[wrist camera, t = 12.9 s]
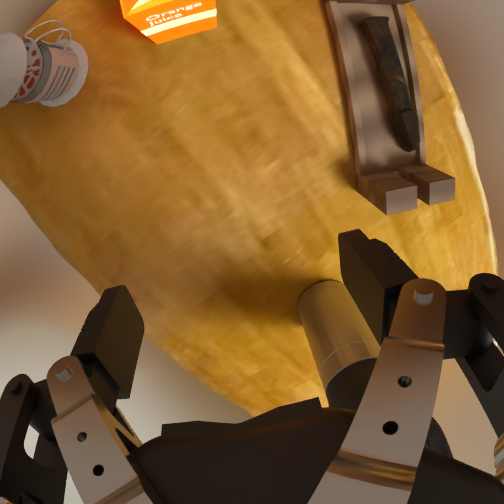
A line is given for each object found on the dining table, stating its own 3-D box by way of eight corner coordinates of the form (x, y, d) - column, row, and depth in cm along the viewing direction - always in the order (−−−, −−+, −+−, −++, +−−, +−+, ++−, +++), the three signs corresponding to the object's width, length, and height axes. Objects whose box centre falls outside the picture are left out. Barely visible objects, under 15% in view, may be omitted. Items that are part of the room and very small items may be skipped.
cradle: (419, 179, 42) (454, 199, 34) (357, 192, 42) (386, 215, 34) (390, -11, 28) (424, -26, 20) (319, -14, 28) (344, -37, 20)
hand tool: (352, 21, 30) (367, 14, 26) (378, 19, 29) (395, 13, 25) (384, 152, 39) (401, 160, 35) (407, 147, 38) (425, 154, 34)
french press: (19, 78, 28) (-117, 99, 6) (73, 16, 26) (-52, -27, 4) (54, 121, 33) (-84, 171, 11) (112, 58, 30) (-15, 29, 8)
